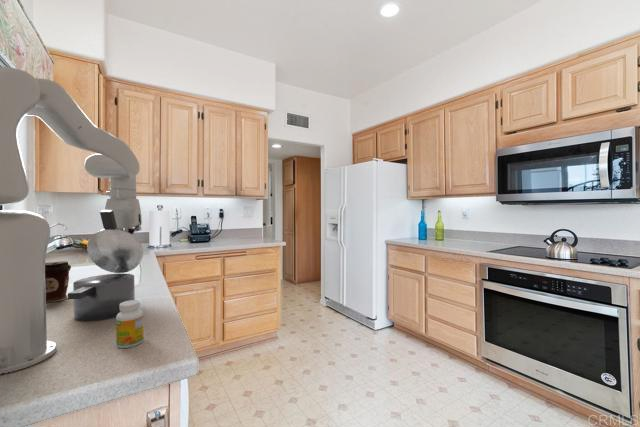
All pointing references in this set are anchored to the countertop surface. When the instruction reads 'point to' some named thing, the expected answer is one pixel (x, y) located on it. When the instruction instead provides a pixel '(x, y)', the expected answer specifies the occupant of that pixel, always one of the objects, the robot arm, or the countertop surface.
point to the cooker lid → (114, 247)
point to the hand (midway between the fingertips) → (124, 248)
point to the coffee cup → (56, 280)
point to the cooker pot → (101, 296)
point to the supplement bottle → (129, 324)
